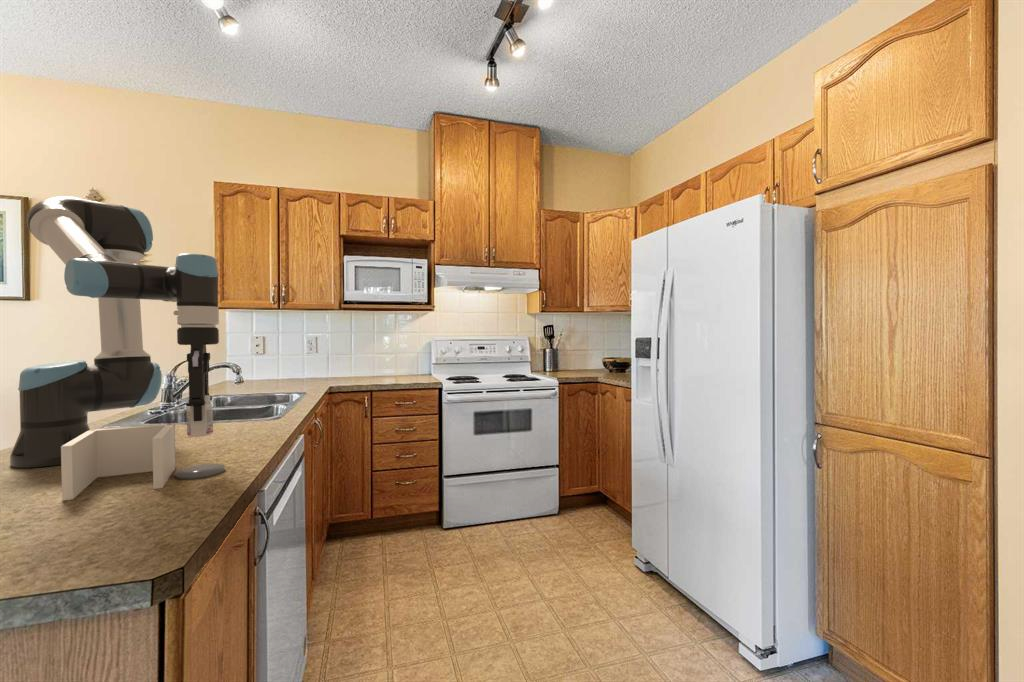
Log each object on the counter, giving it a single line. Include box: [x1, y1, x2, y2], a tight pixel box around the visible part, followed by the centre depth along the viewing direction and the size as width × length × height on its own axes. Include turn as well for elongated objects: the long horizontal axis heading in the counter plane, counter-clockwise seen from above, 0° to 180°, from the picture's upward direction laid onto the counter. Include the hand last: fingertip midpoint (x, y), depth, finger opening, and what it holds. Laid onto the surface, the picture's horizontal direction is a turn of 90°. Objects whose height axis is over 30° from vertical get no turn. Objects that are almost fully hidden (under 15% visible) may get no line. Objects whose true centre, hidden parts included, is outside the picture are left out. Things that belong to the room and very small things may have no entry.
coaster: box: [174, 463, 225, 481], centre depth 103 cm, size 9×9×1 cm
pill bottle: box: [186, 394, 214, 438], centre depth 103 cm, size 5×5×8 cm
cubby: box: [60, 423, 177, 502], centre depth 97 cm, size 16×15×10 cm
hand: (200, 433), depth 103 cm, fingers closed on pill bottle, 5 cm apart
